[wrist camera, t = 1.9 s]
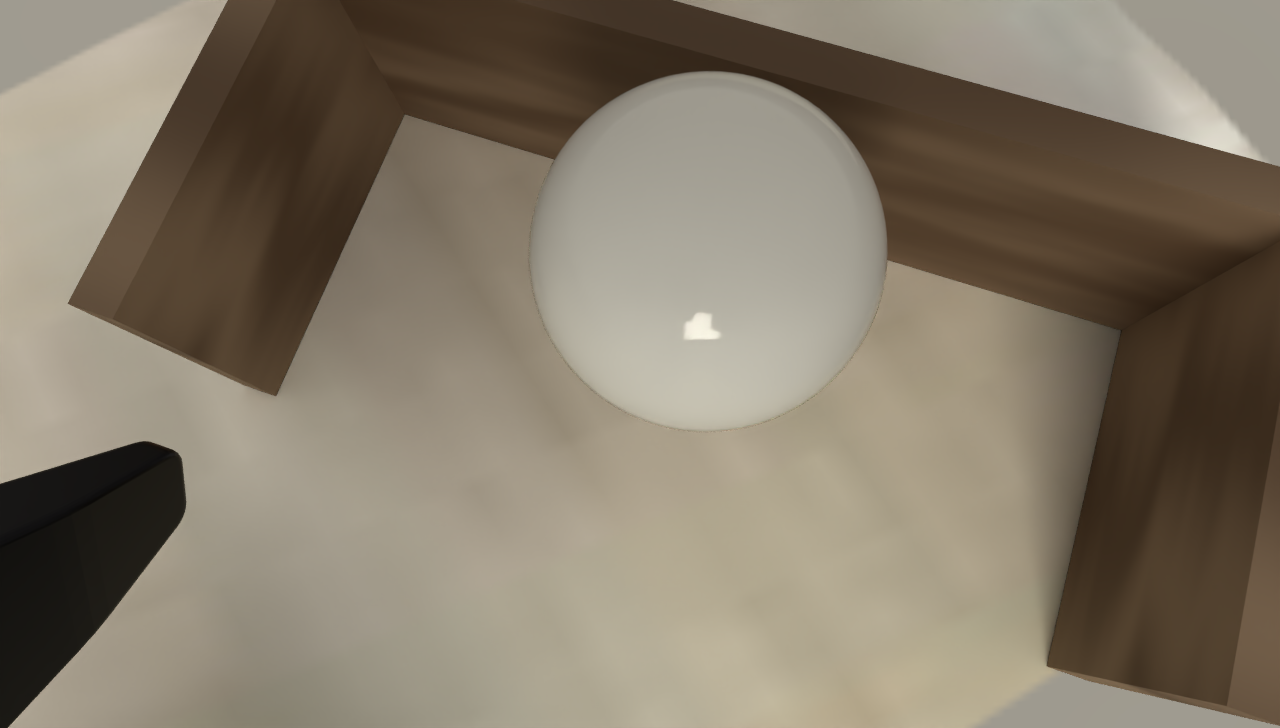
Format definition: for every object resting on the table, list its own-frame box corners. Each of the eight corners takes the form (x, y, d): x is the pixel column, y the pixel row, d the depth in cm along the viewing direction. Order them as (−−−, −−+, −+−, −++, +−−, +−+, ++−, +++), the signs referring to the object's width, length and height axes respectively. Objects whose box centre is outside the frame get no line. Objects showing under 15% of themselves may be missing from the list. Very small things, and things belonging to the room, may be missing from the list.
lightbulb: (612, 231, 24) (565, -48, 13) (834, 282, 23) (969, 33, 13) (548, 447, 23) (439, 326, 12) (784, 509, 22) (889, 439, 11)
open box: (1087, 680, 21) (1289, 727, 14) (243, 384, 23) (67, 303, 17) (1166, 307, 23) (1373, 192, 16) (387, 76, 26) (284, -106, 19)
